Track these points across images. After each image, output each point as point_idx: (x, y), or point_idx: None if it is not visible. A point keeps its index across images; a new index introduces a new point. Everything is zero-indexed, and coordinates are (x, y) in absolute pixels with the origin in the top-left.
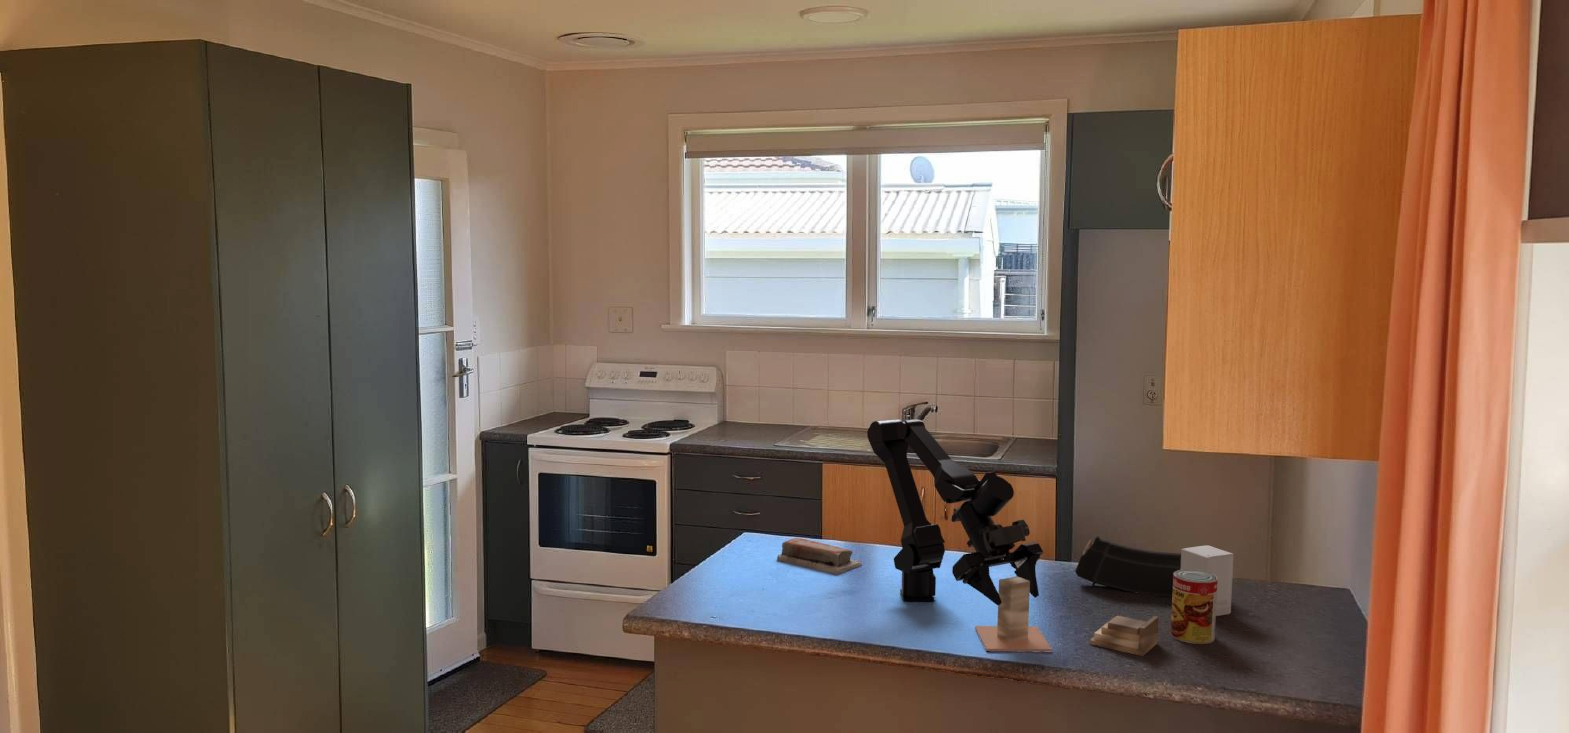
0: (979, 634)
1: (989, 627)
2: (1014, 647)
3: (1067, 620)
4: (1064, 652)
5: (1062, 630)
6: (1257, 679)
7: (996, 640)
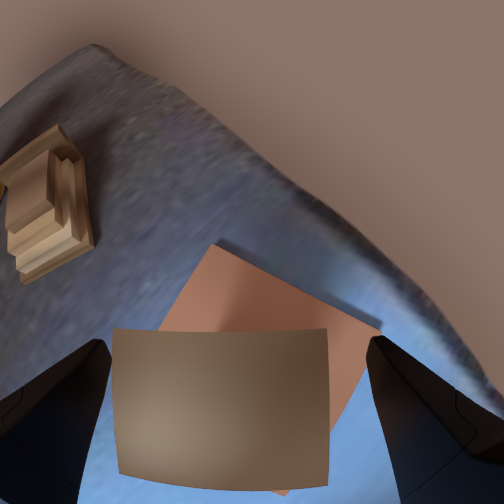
0: None
1: None
2: (303, 303)
3: None
4: (184, 233)
5: None
6: (75, 79)
7: None
